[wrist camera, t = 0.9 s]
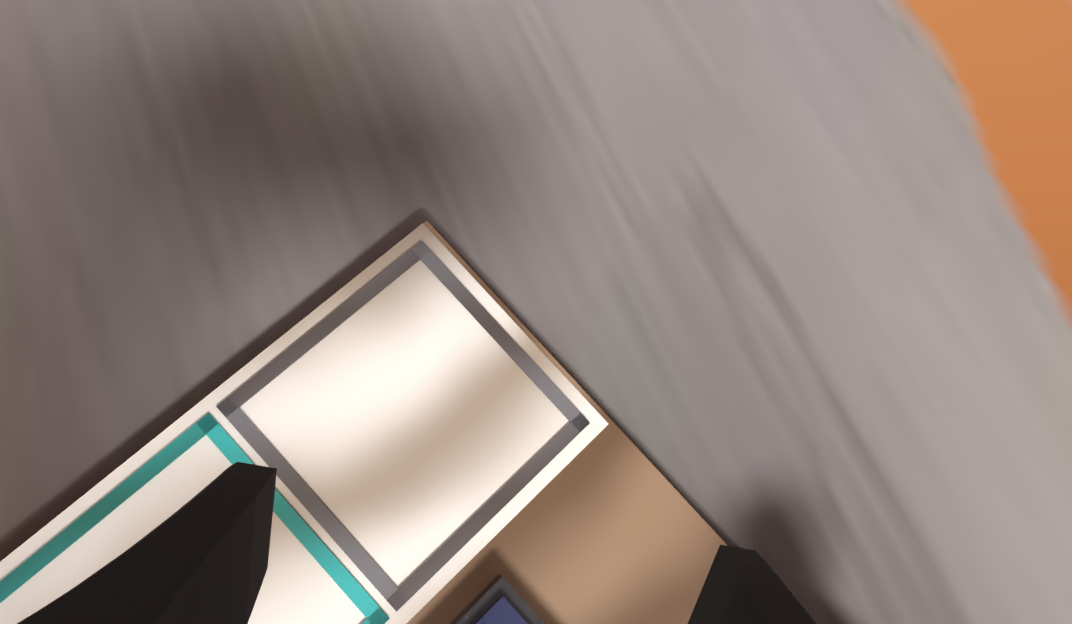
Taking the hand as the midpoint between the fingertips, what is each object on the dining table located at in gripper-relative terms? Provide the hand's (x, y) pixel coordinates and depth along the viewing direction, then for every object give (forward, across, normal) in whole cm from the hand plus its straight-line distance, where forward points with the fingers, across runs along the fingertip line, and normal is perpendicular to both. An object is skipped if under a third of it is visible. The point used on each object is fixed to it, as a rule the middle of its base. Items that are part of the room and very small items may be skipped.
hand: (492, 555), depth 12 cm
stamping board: (+10, +2, +12) cm, 15 cm away
